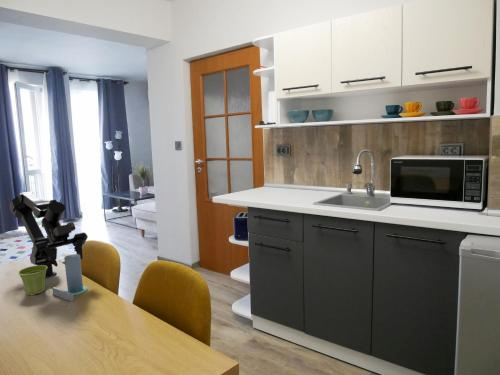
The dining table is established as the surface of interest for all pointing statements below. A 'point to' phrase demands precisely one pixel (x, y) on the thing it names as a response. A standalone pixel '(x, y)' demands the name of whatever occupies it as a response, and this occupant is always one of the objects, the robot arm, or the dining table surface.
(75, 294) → the coaster
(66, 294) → the acrylic wall
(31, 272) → the plant pot
